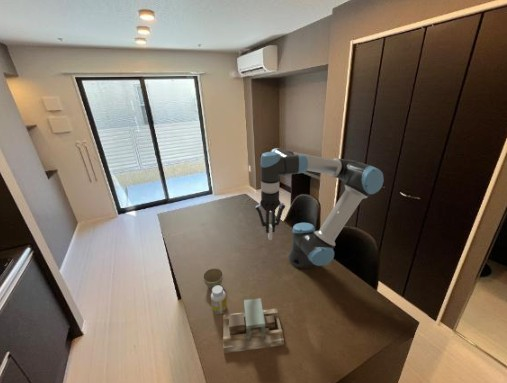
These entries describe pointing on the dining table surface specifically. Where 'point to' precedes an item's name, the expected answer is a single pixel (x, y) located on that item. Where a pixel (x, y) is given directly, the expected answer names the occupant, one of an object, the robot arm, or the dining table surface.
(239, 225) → the dining table surface
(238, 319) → the tan wooden bar
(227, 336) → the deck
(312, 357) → the dining table surface
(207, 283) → the flower pot
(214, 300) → the pill bottle
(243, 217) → the dining table surface
